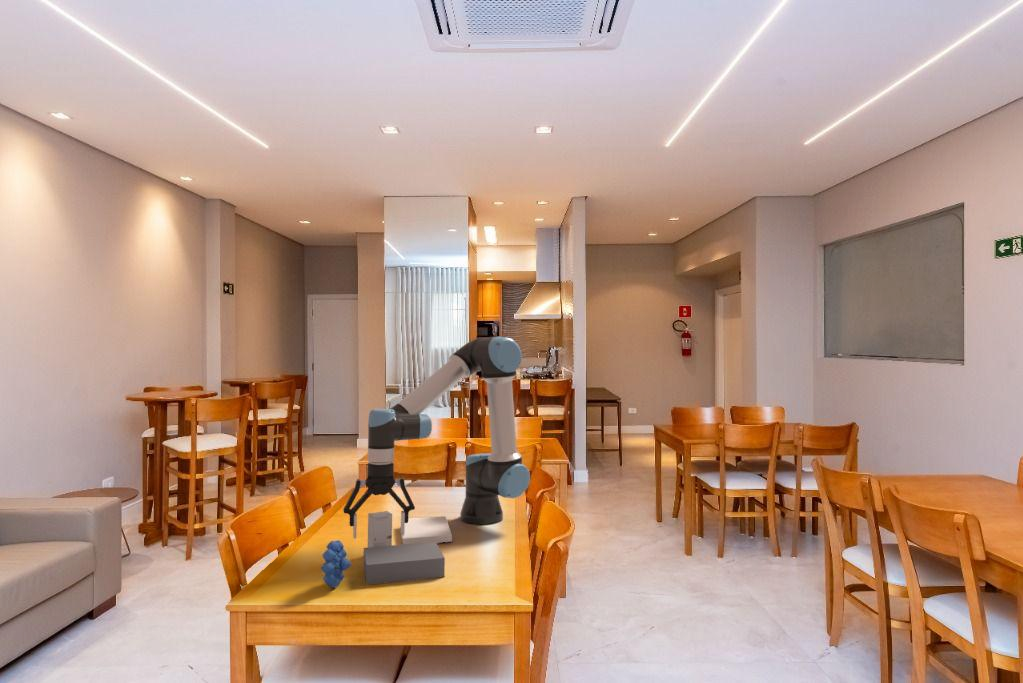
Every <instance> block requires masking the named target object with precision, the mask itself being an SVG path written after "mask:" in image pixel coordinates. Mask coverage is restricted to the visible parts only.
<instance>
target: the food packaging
mask: <svg viewBox="0 0 1023 683" xmlns="http://www.w3.org/2000/svg"><path fill="white" fill-rule="evenodd" d="M401 540H402V541H401V542H402V543H401V545H405V544H417V543H429V542H436V543H437V545H440V544H442V543H443V542H445V543H449V542H452V541H453V534H452V531H451V529H450V527H449V524H448V520H447V517H446V516H443V515H442V516H432V517H431V516H430V517H429V516H428V517H415V518H413V517H412V518H409V517H408V523H405V527H404V535H401Z"/></svg>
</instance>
